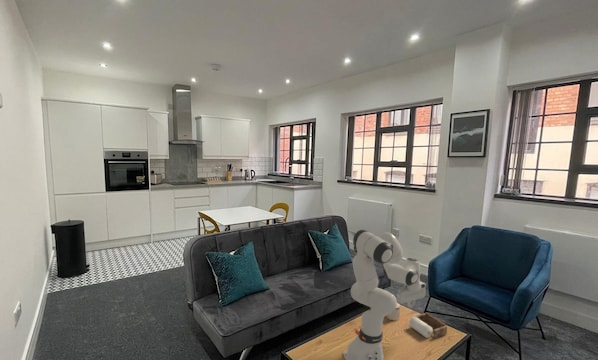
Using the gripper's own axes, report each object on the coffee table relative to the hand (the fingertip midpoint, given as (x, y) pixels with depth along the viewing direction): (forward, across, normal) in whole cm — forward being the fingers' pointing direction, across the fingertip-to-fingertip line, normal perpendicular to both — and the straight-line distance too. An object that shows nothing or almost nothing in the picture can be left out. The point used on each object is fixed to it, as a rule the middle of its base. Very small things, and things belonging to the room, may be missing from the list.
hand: (410, 306), depth 172 cm
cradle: (+19, +18, 0) cm, 26 cm away
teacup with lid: (+19, +6, +21) cm, 29 cm away
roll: (+16, +10, 0) cm, 19 cm away
